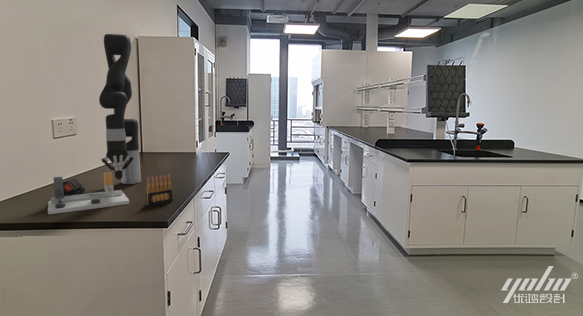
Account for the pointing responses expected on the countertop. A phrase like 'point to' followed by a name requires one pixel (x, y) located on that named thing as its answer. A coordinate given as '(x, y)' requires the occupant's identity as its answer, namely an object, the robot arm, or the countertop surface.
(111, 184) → the block
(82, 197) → the rail and fixed leg
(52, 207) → the hole plate
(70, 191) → the battery
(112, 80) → the robot arm
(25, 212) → the countertop surface
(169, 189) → the ammunition clip
